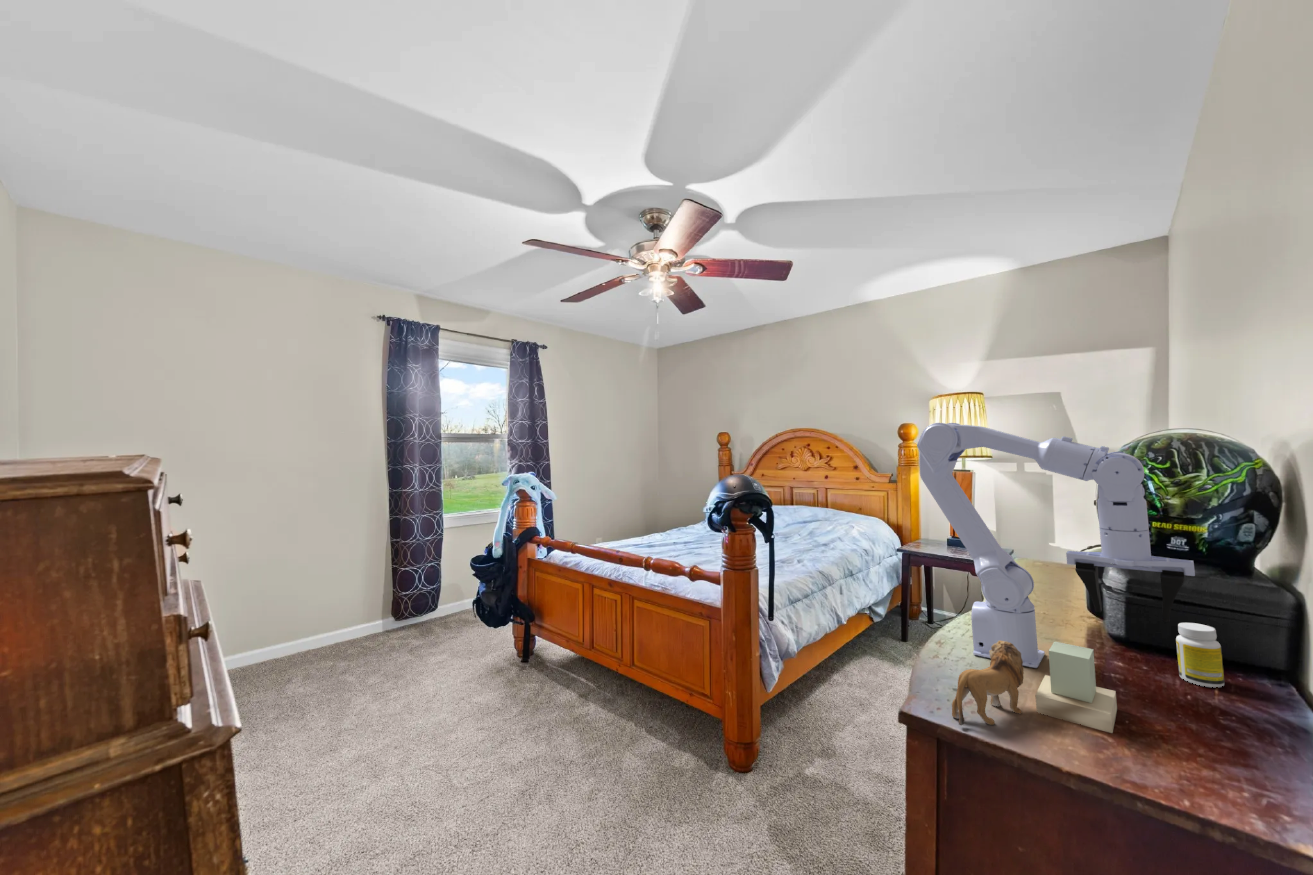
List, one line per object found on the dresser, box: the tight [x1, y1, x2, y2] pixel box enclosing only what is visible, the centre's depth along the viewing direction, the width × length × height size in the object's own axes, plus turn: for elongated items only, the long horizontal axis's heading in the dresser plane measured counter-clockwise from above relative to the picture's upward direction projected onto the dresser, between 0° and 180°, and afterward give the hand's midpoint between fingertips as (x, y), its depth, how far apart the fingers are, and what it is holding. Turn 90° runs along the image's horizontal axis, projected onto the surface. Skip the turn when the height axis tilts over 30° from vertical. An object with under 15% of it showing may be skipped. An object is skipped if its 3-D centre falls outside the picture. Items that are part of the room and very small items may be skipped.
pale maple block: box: [1035, 674, 1118, 734], centre depth 70 cm, size 8×8×3 cm
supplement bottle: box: [1175, 622, 1225, 689], centre depth 77 cm, size 5×5×8 cm
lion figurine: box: [951, 641, 1025, 726], centre depth 71 cm, size 15×5×9 cm, turn 120°
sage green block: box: [1048, 641, 1097, 703], centre depth 71 cm, size 4×4×6 cm
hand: (1131, 615), depth 78 cm, fingers open, 7 cm apart
